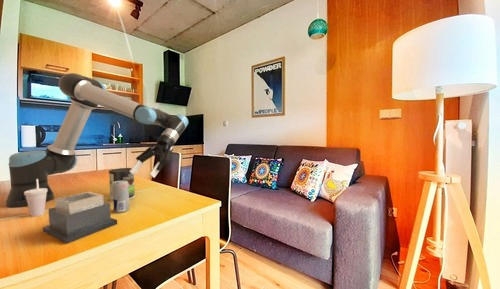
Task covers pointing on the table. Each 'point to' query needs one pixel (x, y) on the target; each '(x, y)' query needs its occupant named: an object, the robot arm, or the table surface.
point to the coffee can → (119, 176)
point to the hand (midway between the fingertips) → (141, 174)
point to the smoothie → (36, 200)
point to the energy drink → (120, 196)
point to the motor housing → (78, 217)
